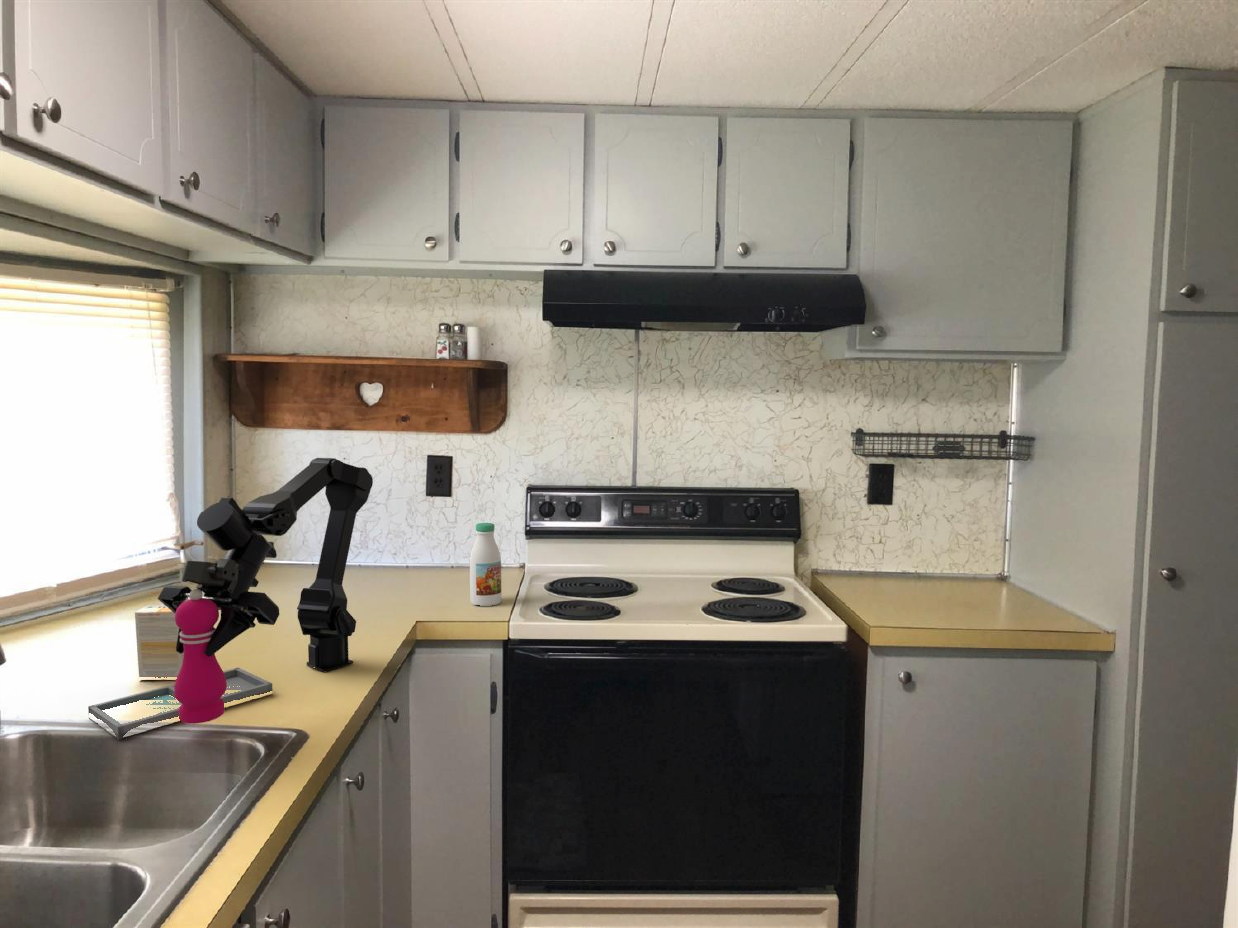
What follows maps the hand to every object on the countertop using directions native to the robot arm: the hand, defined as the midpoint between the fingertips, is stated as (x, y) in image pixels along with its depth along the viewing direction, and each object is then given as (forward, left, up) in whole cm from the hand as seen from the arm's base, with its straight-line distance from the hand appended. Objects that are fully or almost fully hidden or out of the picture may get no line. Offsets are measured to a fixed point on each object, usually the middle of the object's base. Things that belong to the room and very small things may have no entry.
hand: (192, 653), depth 125 cm
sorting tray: (-4, -14, -13) cm, 20 cm away
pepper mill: (-1, -1, -10) cm, 11 cm away
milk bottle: (-81, -26, -13) cm, 87 cm away
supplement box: (-8, -31, -13) cm, 35 cm away
